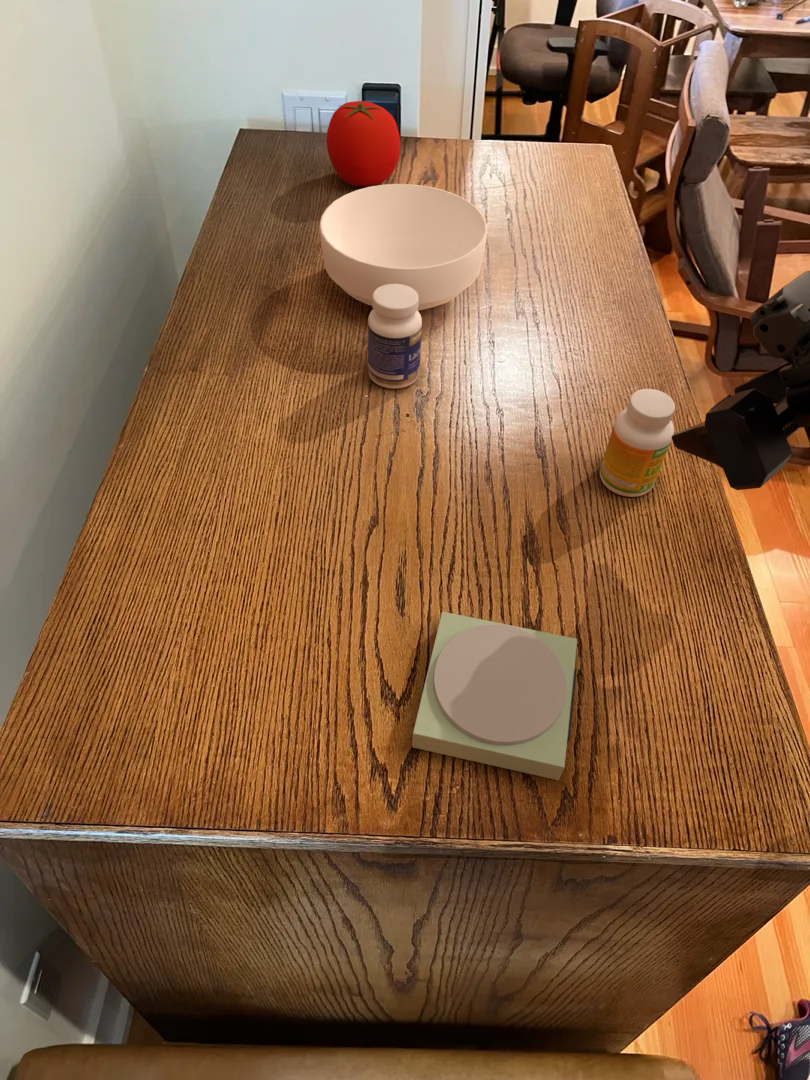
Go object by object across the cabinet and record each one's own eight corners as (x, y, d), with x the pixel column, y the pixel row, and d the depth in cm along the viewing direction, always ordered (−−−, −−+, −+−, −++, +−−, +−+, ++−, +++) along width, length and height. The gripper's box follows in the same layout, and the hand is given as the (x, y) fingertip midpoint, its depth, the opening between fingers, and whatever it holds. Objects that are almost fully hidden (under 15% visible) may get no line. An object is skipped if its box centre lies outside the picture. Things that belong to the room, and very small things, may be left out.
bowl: (293, 277, 97) (287, 212, 91) (415, 231, 105) (418, 169, 99) (385, 354, 88) (386, 289, 81) (512, 298, 95) (522, 234, 89)
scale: (574, 654, 63) (582, 634, 61) (561, 781, 56) (569, 764, 54) (440, 627, 64) (442, 606, 62) (411, 747, 57) (412, 729, 55)
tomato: (363, 157, 119) (362, 81, 110) (413, 181, 114) (415, 103, 106) (312, 180, 114) (307, 101, 105) (362, 205, 109) (361, 126, 101)
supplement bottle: (642, 506, 74) (672, 430, 66) (590, 484, 75) (613, 408, 68) (661, 472, 77) (691, 396, 69) (610, 452, 78) (635, 375, 71)
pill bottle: (419, 391, 84) (423, 312, 76) (366, 390, 83) (365, 310, 76) (419, 359, 87) (423, 280, 80) (369, 357, 87) (368, 278, 79)
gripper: (926, 216, 54) (733, 287, 67) (786, 317, 45) (598, 375, 59) (972, 362, 56) (777, 402, 70) (847, 482, 48) (653, 501, 61)
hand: (706, 416), depth 65 cm, fingers open, 9 cm apart
